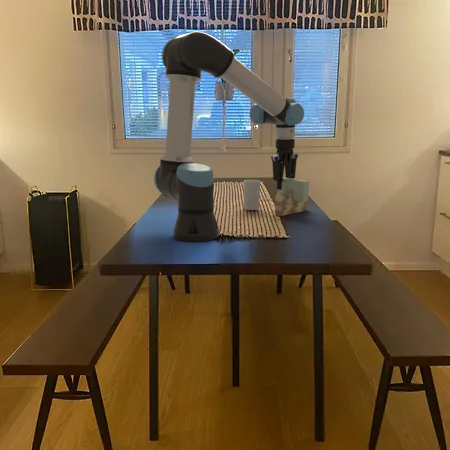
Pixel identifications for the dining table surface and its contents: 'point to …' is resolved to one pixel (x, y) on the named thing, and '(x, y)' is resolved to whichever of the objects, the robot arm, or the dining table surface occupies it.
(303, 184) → the grey-green block
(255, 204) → the mug
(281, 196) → the u-shaped wooden block
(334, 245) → the dining table surface
